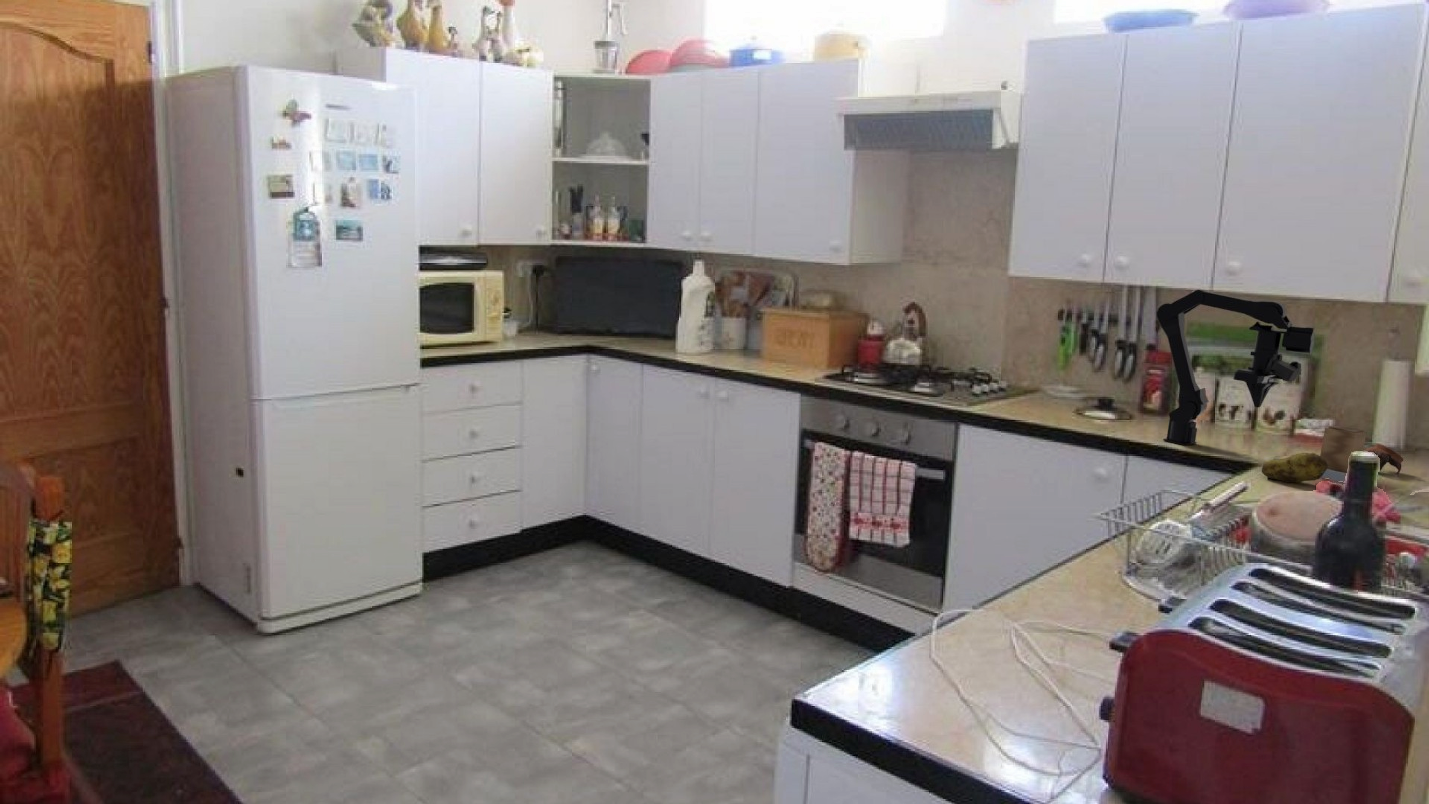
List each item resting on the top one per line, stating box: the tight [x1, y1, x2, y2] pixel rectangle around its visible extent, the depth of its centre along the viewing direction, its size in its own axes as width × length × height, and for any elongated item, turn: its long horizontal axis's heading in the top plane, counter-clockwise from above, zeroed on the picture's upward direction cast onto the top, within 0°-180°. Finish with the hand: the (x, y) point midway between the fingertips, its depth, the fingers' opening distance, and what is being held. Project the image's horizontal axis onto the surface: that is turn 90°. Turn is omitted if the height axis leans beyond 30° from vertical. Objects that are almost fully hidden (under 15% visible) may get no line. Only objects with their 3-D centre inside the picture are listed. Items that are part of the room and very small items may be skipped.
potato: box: [1261, 452, 1328, 483], centre depth 244 cm, size 8×13×8 cm, turn 32°
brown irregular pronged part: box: [1365, 443, 1404, 476], centre depth 263 cm, size 12×10×8 cm
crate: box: [1319, 424, 1367, 473], centre depth 252 cm, size 7×6×12 cm
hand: (1257, 407), depth 273 cm, fingers closed
